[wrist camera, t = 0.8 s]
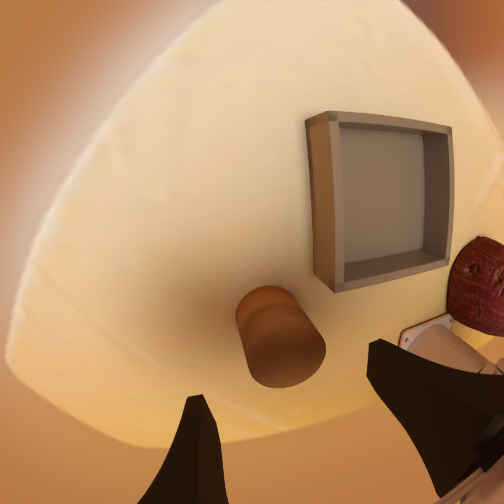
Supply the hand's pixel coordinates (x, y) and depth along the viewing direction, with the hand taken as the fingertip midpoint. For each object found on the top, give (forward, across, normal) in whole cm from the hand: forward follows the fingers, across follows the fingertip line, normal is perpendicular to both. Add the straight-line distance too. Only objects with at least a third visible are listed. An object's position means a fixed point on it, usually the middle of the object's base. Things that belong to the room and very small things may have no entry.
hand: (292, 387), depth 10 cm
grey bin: (+10, -11, -5) cm, 15 cm away
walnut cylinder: (+10, -1, +2) cm, 10 cm away
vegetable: (+9, -25, +6) cm, 27 cm away
